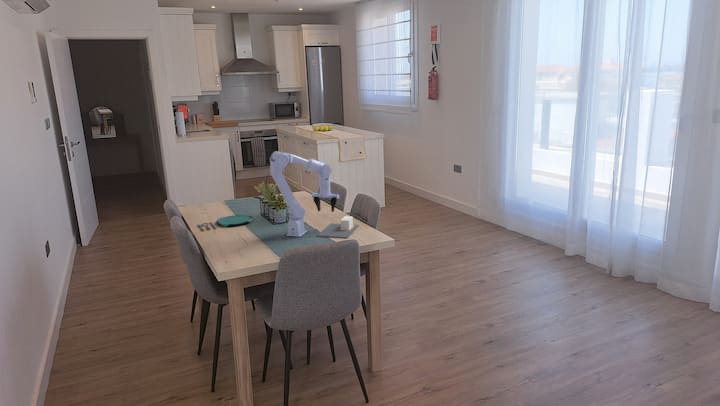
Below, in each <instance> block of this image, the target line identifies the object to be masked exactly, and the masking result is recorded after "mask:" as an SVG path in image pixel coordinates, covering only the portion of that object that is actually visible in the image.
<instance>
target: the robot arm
mask: <svg viewBox="0 0 720 406" xmlns="http://www.w3.org/2000/svg"><path fill="white" fill-rule="evenodd" d="M269 163H270V167H269V168H270V169H269V171H270V175H271V177H272V179H273V181H274V182H275V185H276V186H277V188H278V190H279V191H280V193H281V195H282V197H283V198H284V202H286V205H287V212H288V213H289V216H288V217H289V220H288V222H287V224H286V225H287V233H286V237H302V236H303V235H304V234H306V233H308V230H305V219H304V218H305V217H304V216H305V214H306V209H305V207H304V206H302V205H301V204H300V202H299V201H298V199H296V196H295V195H294V193H293V192H292V191H293V190H292V189H291V187H290V186H289V184H288V182H287V180H286V178H285V176H284V174H283V171H284V169H285V168H286V166H287V165H288V164H292V163H296V164H299V165H302V166H304V167H305V168H306V170H309V171H312V172H314V173H318V180H319V181H318V183H319V193H317V192H316V193H312V194H311V198H312V199H313V202H314V204H315V206H316V208H317V211H318V212H320V211H321V210H322V209H321V199H330V205H331V209H330V210H331V213H333V212H335V207H336V204H337V202H338V199H340V194H338V193H337V194H336V193H332V192H331V174H332V171H333V169H332V168H331V165H330V164H328V163H325V162H323V161H319V160H316V158H313V157H312V158H308V159H305V158H303V157H300V156H297V155H295V154H292V153H288V152H283V151H282V152H281V151H278V150H275V151H273V152H272V153H271V156H270V157H269Z"/></svg>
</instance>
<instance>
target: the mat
mask: <svg viewBox="0 0 720 406" xmlns="http://www.w3.org/2000/svg"><path fill="white" fill-rule="evenodd" d="M359 226H360V225H359V224H354V223H353V226H352V227H351V228H350V229H349V230H343V229H341V223H335V222H334V223H332V222H331V223H329V224H328V225H327V226H326V227H325V228H324V229H322V230H321V231H320V232H319V233H317V235H316V237H320V238H335V239H348V238H350V237H351V235H352V234H353V233H354V232H355V231H356V230H357V228H358V227H359Z"/></svg>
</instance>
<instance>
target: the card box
mask: <svg viewBox="0 0 720 406" xmlns="http://www.w3.org/2000/svg"><path fill="white" fill-rule="evenodd" d="M353 219H354V216H351V215H346V216H345V215H344V216H343V217H342V218H341V219H340V224H341V229H343V230H349V229H350V228H351V227H352V226H353V224H354V220H353Z"/></svg>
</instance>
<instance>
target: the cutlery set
mask: <svg viewBox="0 0 720 406" xmlns="http://www.w3.org/2000/svg"><path fill="white" fill-rule="evenodd" d="M251 222H253V217H252V216H251V215H249V214H235V215H228V216H223V217H220V218H218V219H216V223H217V224H218V225H220V226H222V227H223V228H227V227H228V226H239V225H242V224H247V223H251ZM209 224H210V225H211V227H212V228H214V230H217V227H215V225H214V224H213V222H210V221H209V223H206V222H205V223H202V224H197V225H196V226H197V227H198V228H199V229H200V230H202V232H204V231H205V229H204V228H203V227H206V228H207V229H208V230H212V229H211V228H210V227H209Z"/></svg>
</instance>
